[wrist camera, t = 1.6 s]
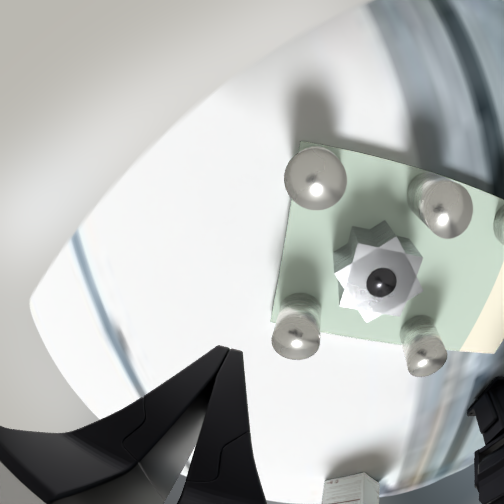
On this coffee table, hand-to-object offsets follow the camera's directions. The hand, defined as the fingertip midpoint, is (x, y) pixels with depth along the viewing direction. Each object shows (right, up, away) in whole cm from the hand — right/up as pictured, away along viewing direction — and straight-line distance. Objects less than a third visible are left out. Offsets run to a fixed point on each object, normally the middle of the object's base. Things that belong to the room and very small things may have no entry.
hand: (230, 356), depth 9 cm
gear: (+9, +3, +8) cm, 12 cm away
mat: (+14, +2, +8) cm, 16 cm away
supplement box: (+17, -34, +23) cm, 45 cm away
